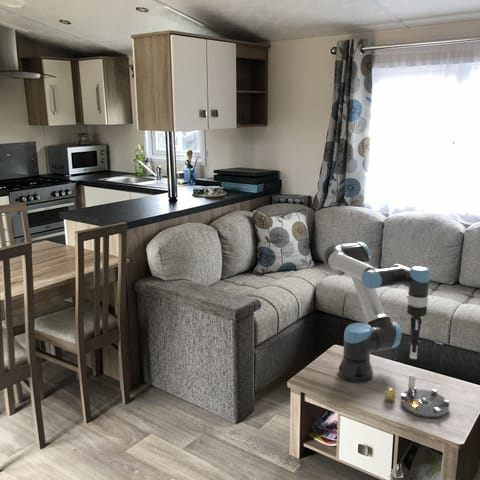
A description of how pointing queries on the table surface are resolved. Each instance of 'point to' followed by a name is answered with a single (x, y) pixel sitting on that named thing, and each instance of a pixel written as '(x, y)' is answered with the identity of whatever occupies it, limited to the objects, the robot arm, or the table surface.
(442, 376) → the table surface
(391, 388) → the roller
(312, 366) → the table surface
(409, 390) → the dark grey round base
